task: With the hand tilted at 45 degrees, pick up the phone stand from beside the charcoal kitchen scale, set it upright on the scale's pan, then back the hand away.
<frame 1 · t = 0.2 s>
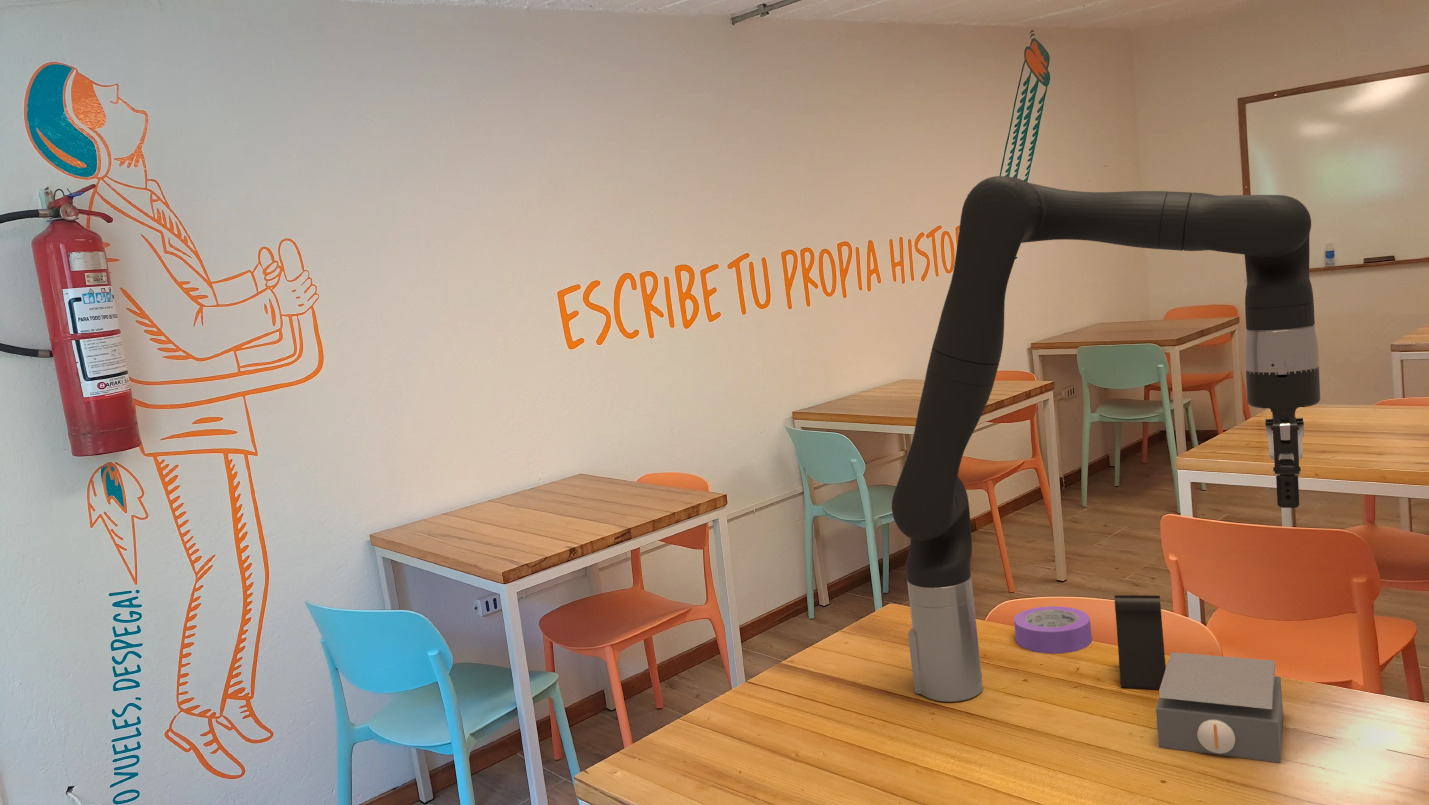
hand: (1287, 498, 116), 29 cm above the table, tool pointing down, fingers open, 8 cm apart
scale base: (1222, 730, 121), on the table
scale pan: (1218, 678, 120), point 7 cm above the table, slide at 0.2 cm
masking tape: (1053, 641, 156), on the table
phone stand: (1143, 677, 138), on the table
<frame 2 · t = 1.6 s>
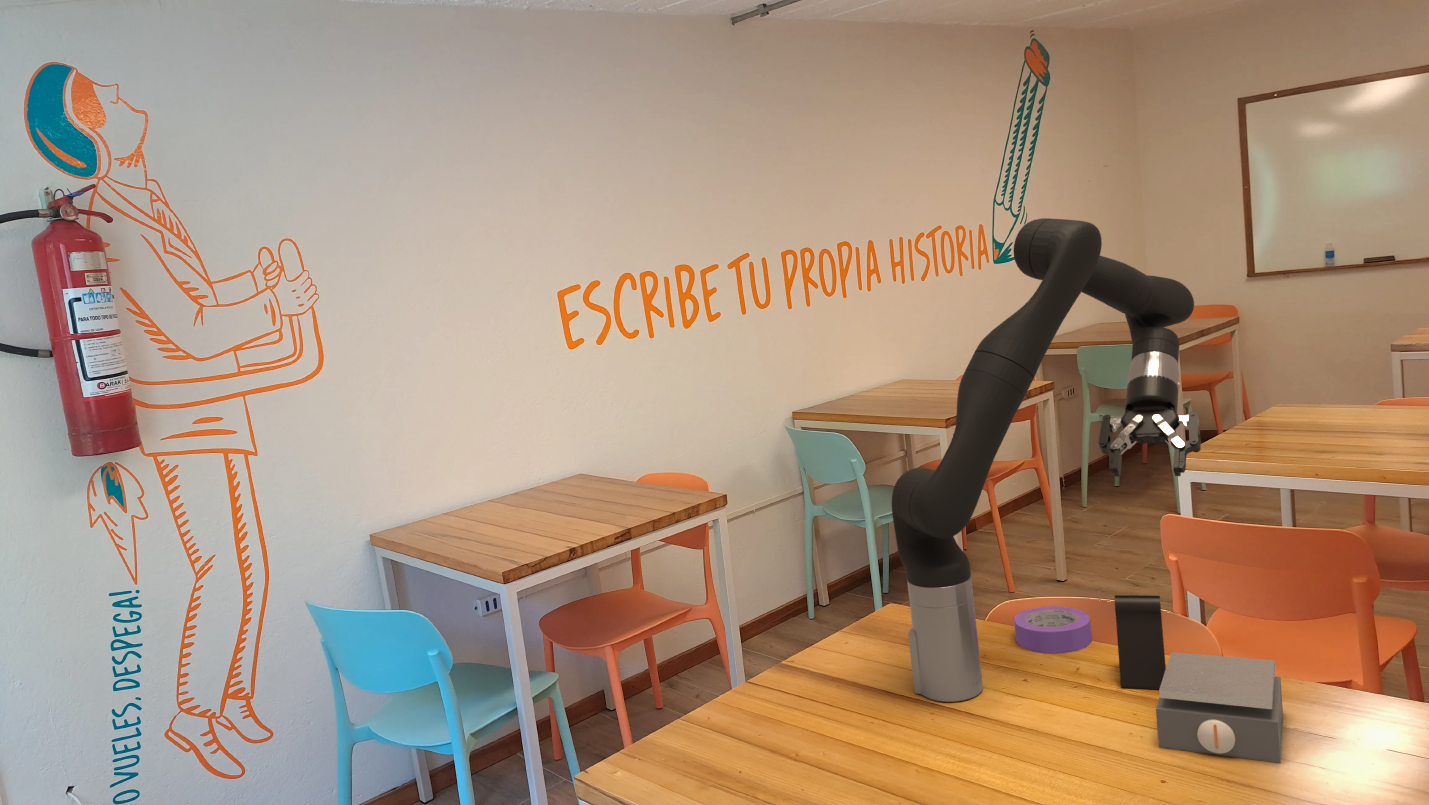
hand: (1146, 473, 146), 27 cm above the table, tool tilted 45°, fingers open, 8 cm apart
nothing on the table moved.
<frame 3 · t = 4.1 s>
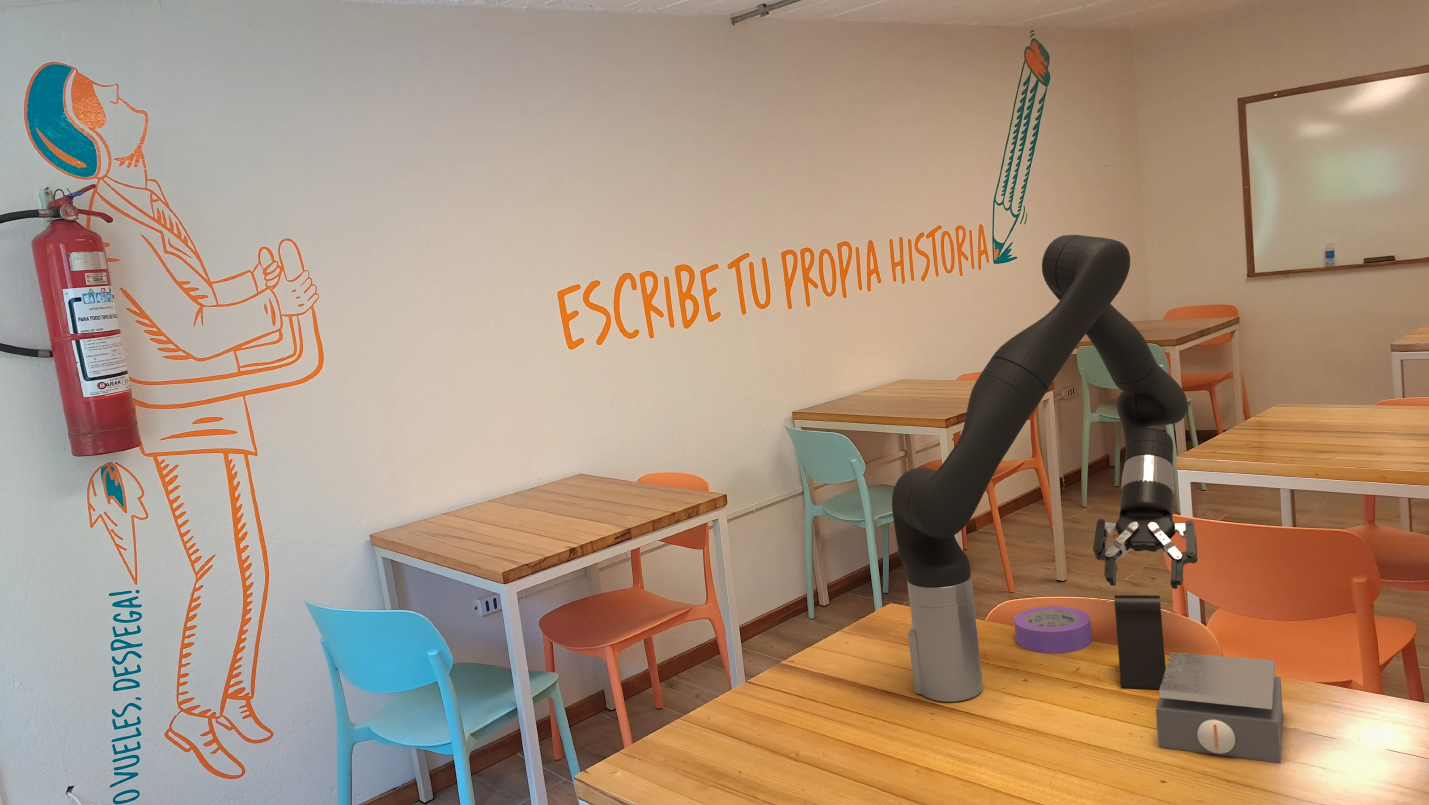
hand: (1142, 584, 142), 12 cm above the table, tool tilted 45°, fingers open, 8 cm apart
nothing on the table moved.
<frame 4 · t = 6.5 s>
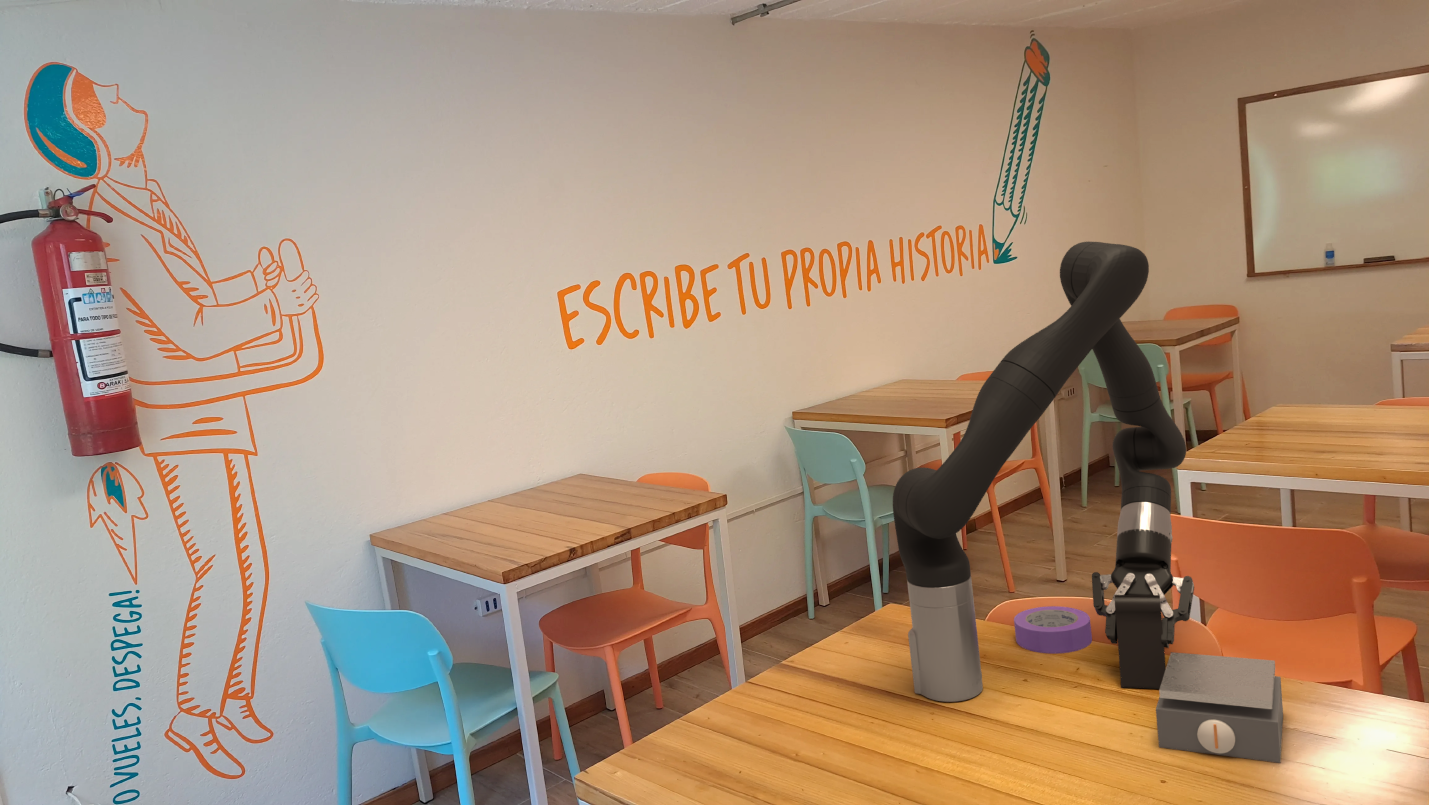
hand: (1139, 643, 136), 6 cm above the table, tool tilted 45°, fingers closed on phone stand, 6 cm apart
phone stand: (1143, 677, 138), on the table, touching gripper
everything else where it was.
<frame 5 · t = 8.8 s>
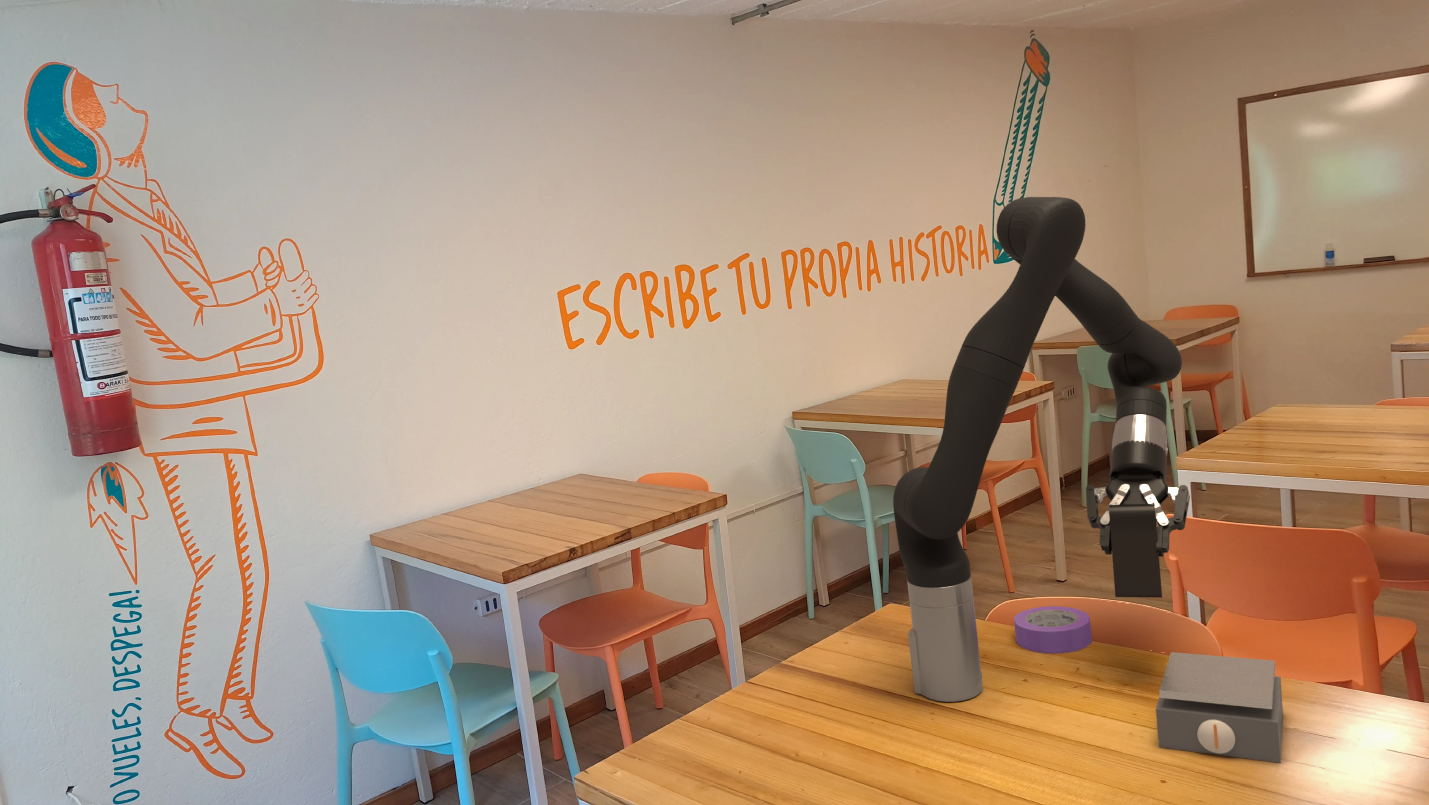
hand: (1133, 552, 134), 19 cm above the table, tool tilted 45°, fingers closed on phone stand, 6 cm apart
phone stand: (1138, 588, 136), point 13 cm above the table, touching gripper
everything else where it was.
when the fingers open (14 cm above the table, at t = 11.6 s): phone stand drops 2 cm, resting on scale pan.
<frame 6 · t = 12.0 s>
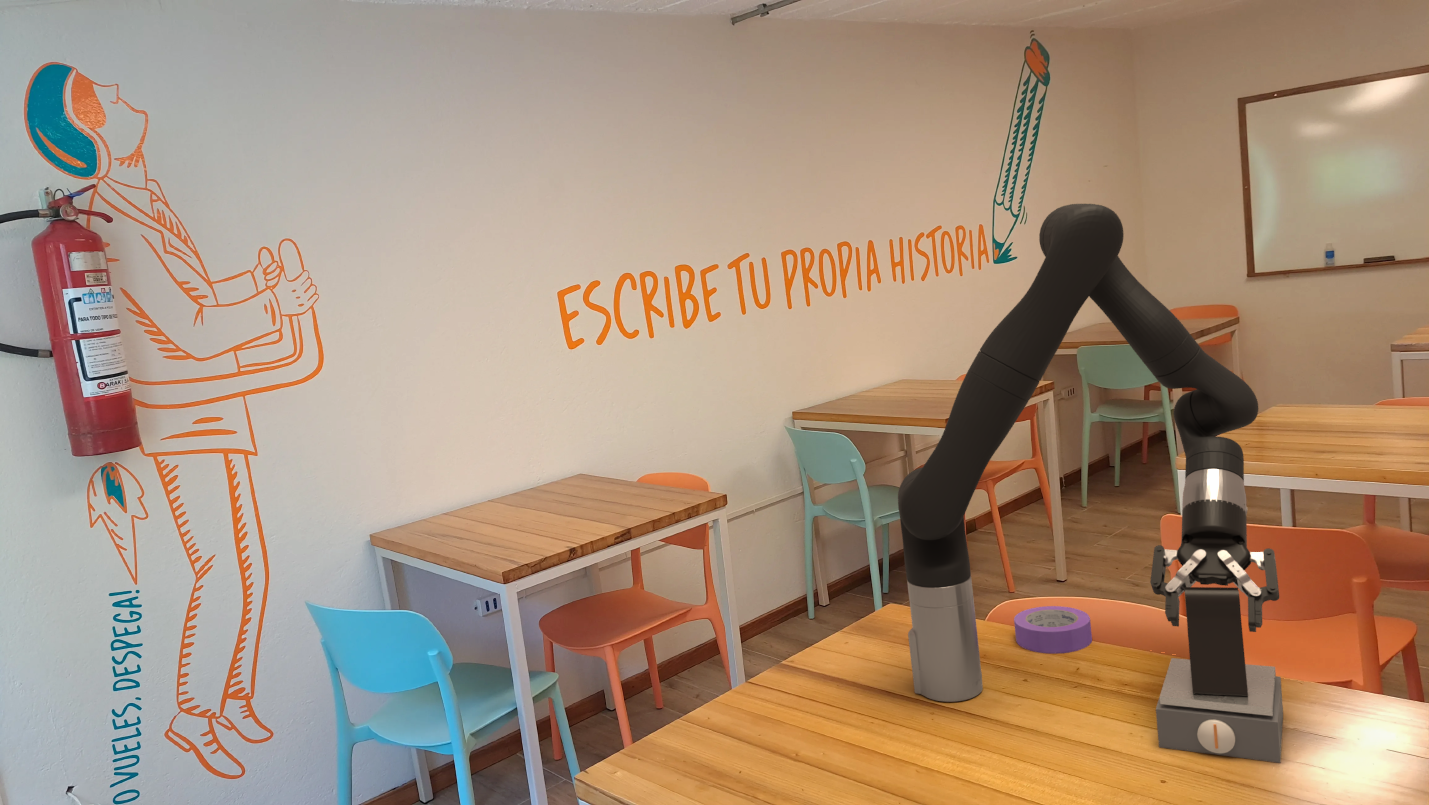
hand: (1212, 626, 118), 14 cm above the table, tool tilted 45°, fingers open, 8 cm apart
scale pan: (1218, 685, 120), point 6 cm above the table, slide at 1.0 cm, touching phone stand
phone stand: (1218, 682, 120), point 6 cm above the table, touching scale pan
everything else where it was.
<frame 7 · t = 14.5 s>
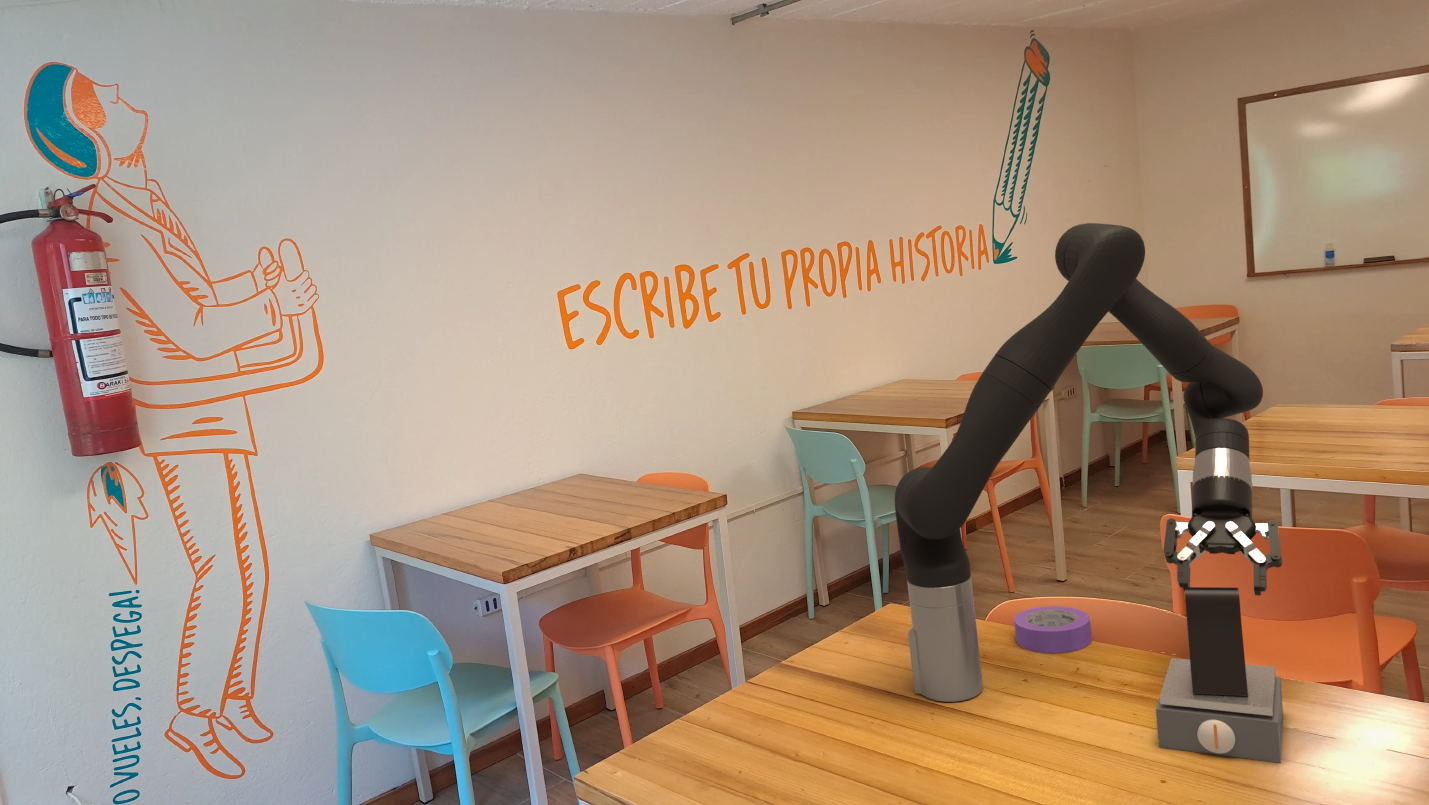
hand: (1221, 591, 129), 14 cm above the table, tool tilted 45°, fingers open, 8 cm apart
nothing on the table moved.
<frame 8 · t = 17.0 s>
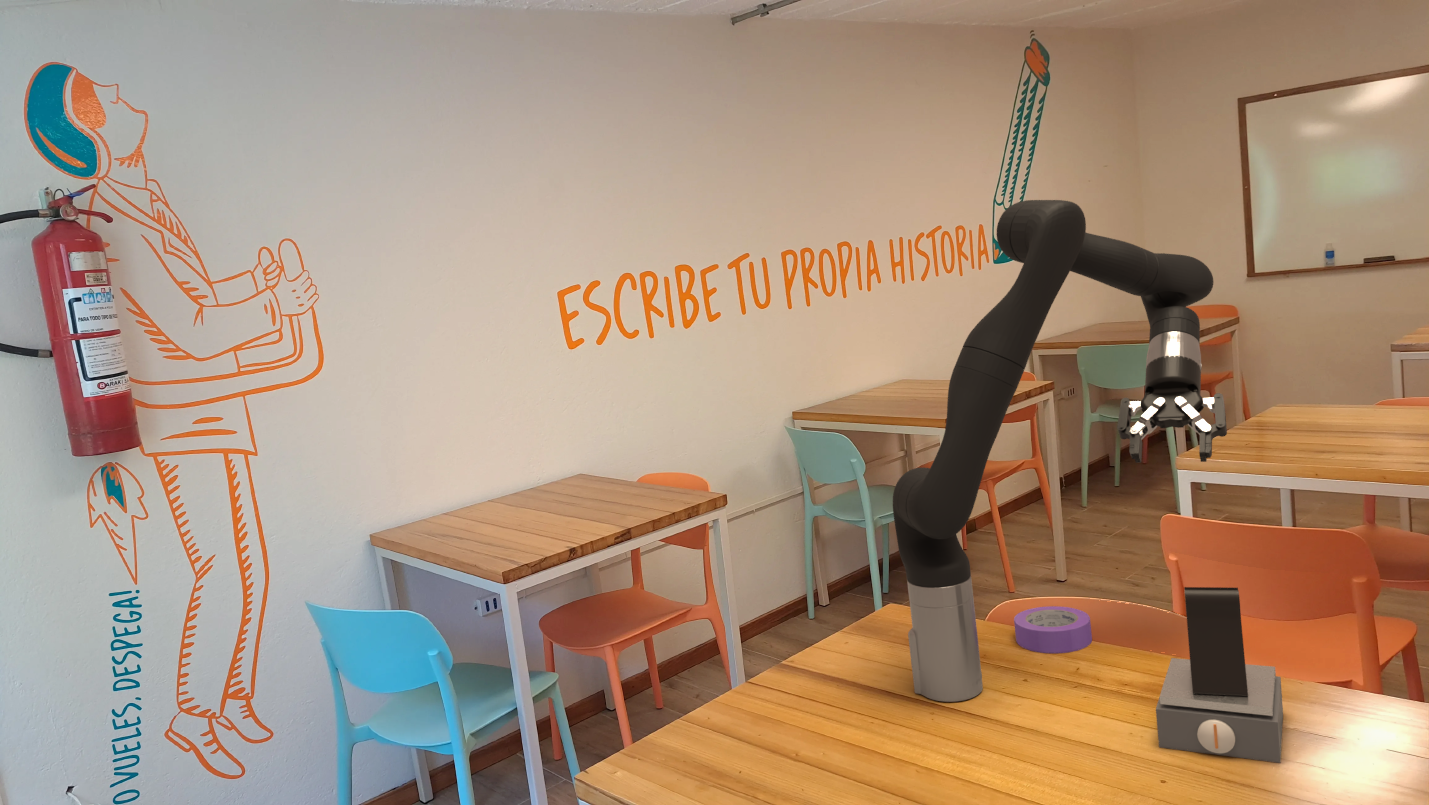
hand: (1169, 459, 137), 31 cm above the table, tool tilted 45°, fingers open, 8 cm apart
nothing on the table moved.
at the end: phone stand inside the target area on the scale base (0.2 cm from its centre), point 6.3 cm above the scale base's base; phone stand tilted 0°; the gripper is holding nothing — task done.
